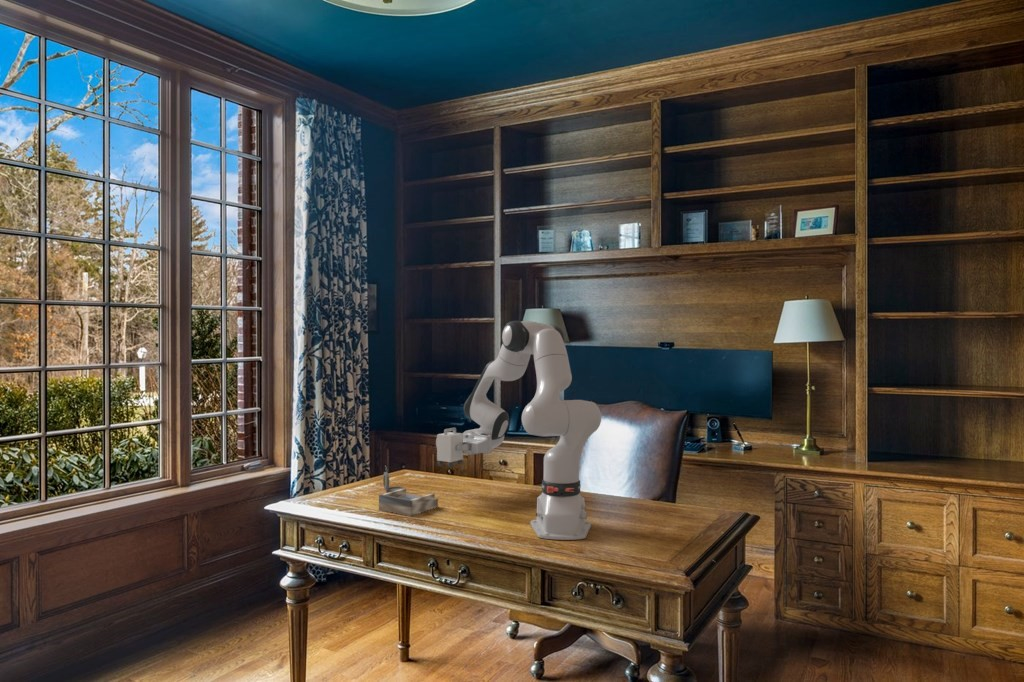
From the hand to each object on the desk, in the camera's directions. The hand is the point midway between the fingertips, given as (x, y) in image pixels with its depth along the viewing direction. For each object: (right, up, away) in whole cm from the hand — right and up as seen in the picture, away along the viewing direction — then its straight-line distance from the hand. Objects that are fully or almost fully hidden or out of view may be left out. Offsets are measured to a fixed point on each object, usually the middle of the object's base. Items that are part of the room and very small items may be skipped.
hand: (448, 447), depth 237 cm
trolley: (0, -6, +1) cm, 7 cm away
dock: (-13, -20, -6) cm, 24 cm away
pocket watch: (-23, -20, +18) cm, 35 cm away
